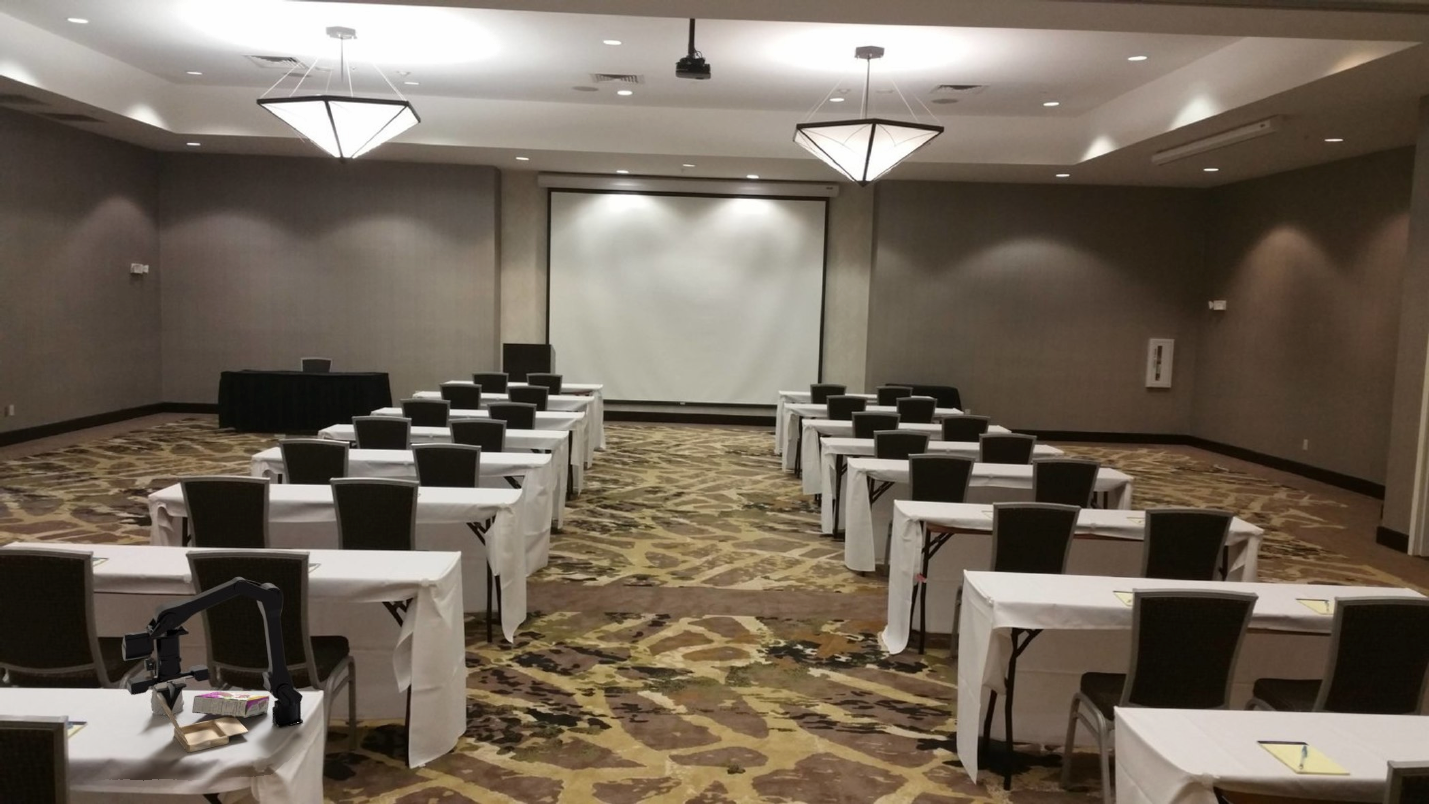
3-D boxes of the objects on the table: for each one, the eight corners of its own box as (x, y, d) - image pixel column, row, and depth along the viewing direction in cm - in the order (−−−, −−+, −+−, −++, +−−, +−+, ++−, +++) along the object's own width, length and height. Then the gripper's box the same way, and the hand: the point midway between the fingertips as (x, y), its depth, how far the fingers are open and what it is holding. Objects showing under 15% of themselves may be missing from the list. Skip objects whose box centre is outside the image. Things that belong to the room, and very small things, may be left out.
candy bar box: (217, 690, 298) (270, 695, 296) (215, 708, 298) (267, 713, 295) (193, 694, 288) (248, 700, 285) (190, 713, 287) (245, 718, 284)
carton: (232, 722, 288) (232, 715, 288) (249, 739, 277) (249, 731, 276) (173, 735, 278) (173, 727, 278) (188, 753, 267) (188, 745, 267)
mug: (189, 705, 299) (189, 665, 298) (166, 721, 287) (165, 679, 286) (163, 704, 299) (163, 664, 298) (139, 720, 287) (138, 678, 286)
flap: (175, 727, 277) (157, 694, 274) (188, 742, 268) (169, 708, 264) (175, 728, 277) (156, 694, 273) (187, 743, 268) (168, 709, 264)
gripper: (198, 638, 281) (200, 693, 282) (121, 652, 269) (123, 710, 270) (210, 648, 272) (211, 706, 274) (130, 663, 260) (132, 723, 262)
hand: (170, 711), depth 270 cm, fingers closed
